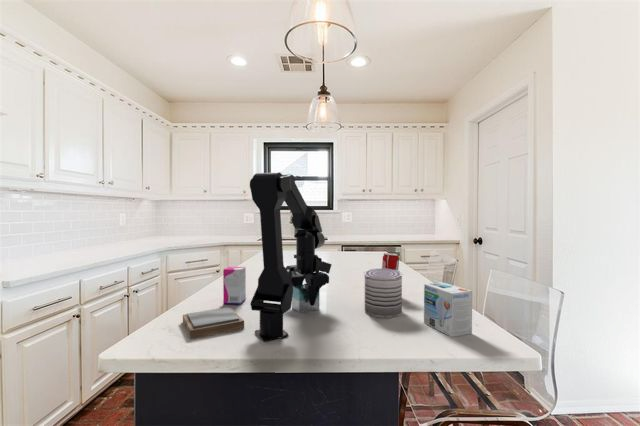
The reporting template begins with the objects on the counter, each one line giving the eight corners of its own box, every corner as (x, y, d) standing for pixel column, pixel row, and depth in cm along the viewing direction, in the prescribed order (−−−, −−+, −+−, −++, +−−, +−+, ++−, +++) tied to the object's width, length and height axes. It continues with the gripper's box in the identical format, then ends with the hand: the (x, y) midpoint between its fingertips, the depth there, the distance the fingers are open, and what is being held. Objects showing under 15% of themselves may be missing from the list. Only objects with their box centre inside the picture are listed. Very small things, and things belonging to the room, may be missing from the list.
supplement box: (246, 300, 109) (246, 266, 108) (240, 305, 103) (240, 269, 102) (229, 299, 109) (229, 266, 109) (222, 304, 103) (222, 269, 103)
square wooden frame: (244, 328, 83) (244, 318, 82) (190, 338, 76) (190, 328, 76) (230, 314, 94) (230, 305, 94) (182, 322, 87) (182, 313, 87)
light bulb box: (422, 323, 87) (423, 283, 87) (442, 320, 89) (442, 281, 89) (451, 337, 77) (452, 293, 77) (473, 334, 79) (473, 290, 79)
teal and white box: (311, 305, 103) (311, 283, 103) (319, 309, 99) (319, 286, 99) (291, 308, 99) (291, 286, 99) (299, 313, 95) (299, 289, 95)
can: (408, 310, 98) (408, 271, 97) (391, 320, 89) (391, 277, 89) (375, 303, 105) (375, 266, 105) (356, 312, 96) (356, 272, 96)
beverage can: (377, 294, 116) (377, 252, 116) (393, 292, 118) (393, 252, 118) (385, 298, 110) (385, 255, 110) (402, 296, 112) (402, 254, 112)
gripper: (344, 253, 95) (344, 305, 95) (313, 247, 111) (313, 291, 111) (311, 256, 89) (311, 311, 89) (283, 249, 105) (284, 296, 105)
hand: (305, 301), depth 99 cm, fingers open, 8 cm apart
